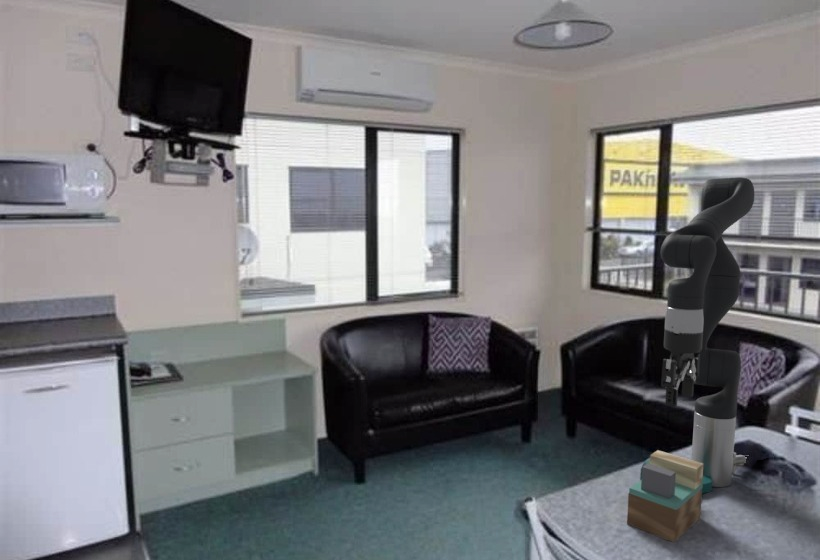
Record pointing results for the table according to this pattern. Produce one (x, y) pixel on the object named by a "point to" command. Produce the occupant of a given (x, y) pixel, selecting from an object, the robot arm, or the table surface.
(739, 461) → the caliper
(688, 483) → the pale wooden block
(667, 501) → the lid
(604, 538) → the table surface
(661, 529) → the open wooden box
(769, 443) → the table surface
